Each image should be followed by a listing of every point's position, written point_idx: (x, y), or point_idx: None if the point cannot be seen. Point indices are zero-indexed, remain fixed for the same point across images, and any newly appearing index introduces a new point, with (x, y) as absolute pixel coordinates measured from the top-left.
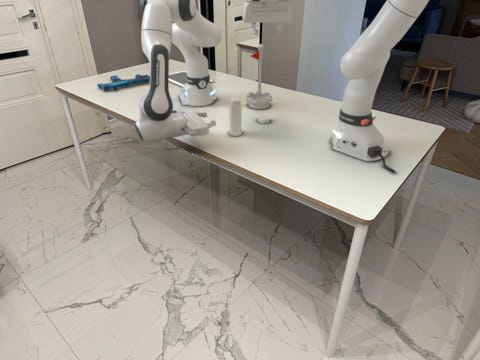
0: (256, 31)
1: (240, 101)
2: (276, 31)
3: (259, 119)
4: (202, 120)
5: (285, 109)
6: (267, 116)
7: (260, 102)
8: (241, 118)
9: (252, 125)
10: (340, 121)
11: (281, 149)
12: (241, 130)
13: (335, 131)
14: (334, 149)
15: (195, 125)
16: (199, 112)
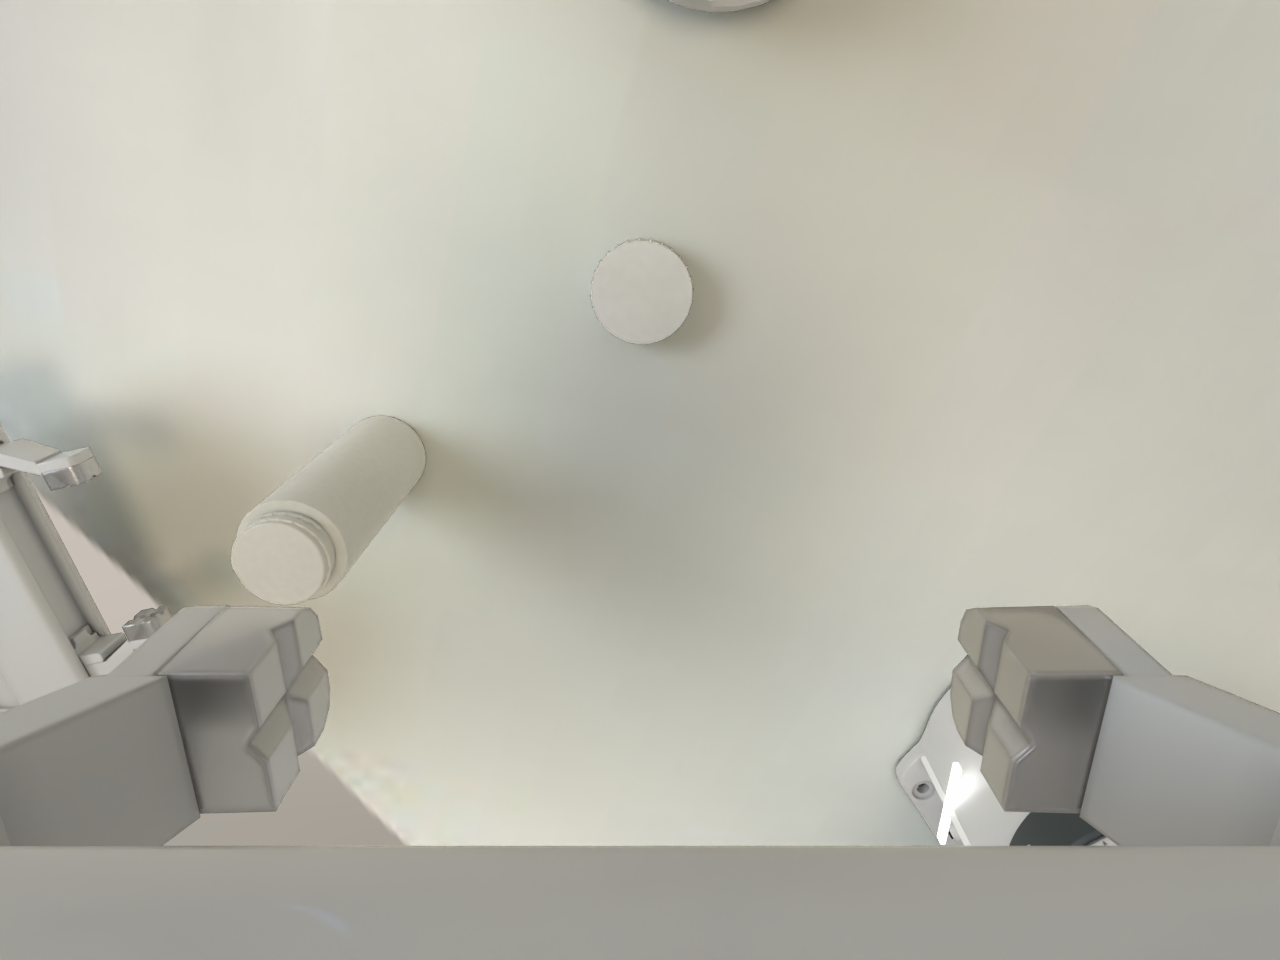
0: (222, 786)
1: (340, 538)
2: (987, 678)
3: (597, 316)
4: (52, 649)
5: (927, 71)
6: (680, 273)
7: (694, 5)
8: (390, 512)
9: (532, 349)
10: (1008, 838)
11: (618, 707)
12: (417, 478)
13: (957, 788)
14: (897, 778)
15: (12, 699)
16: (14, 461)
